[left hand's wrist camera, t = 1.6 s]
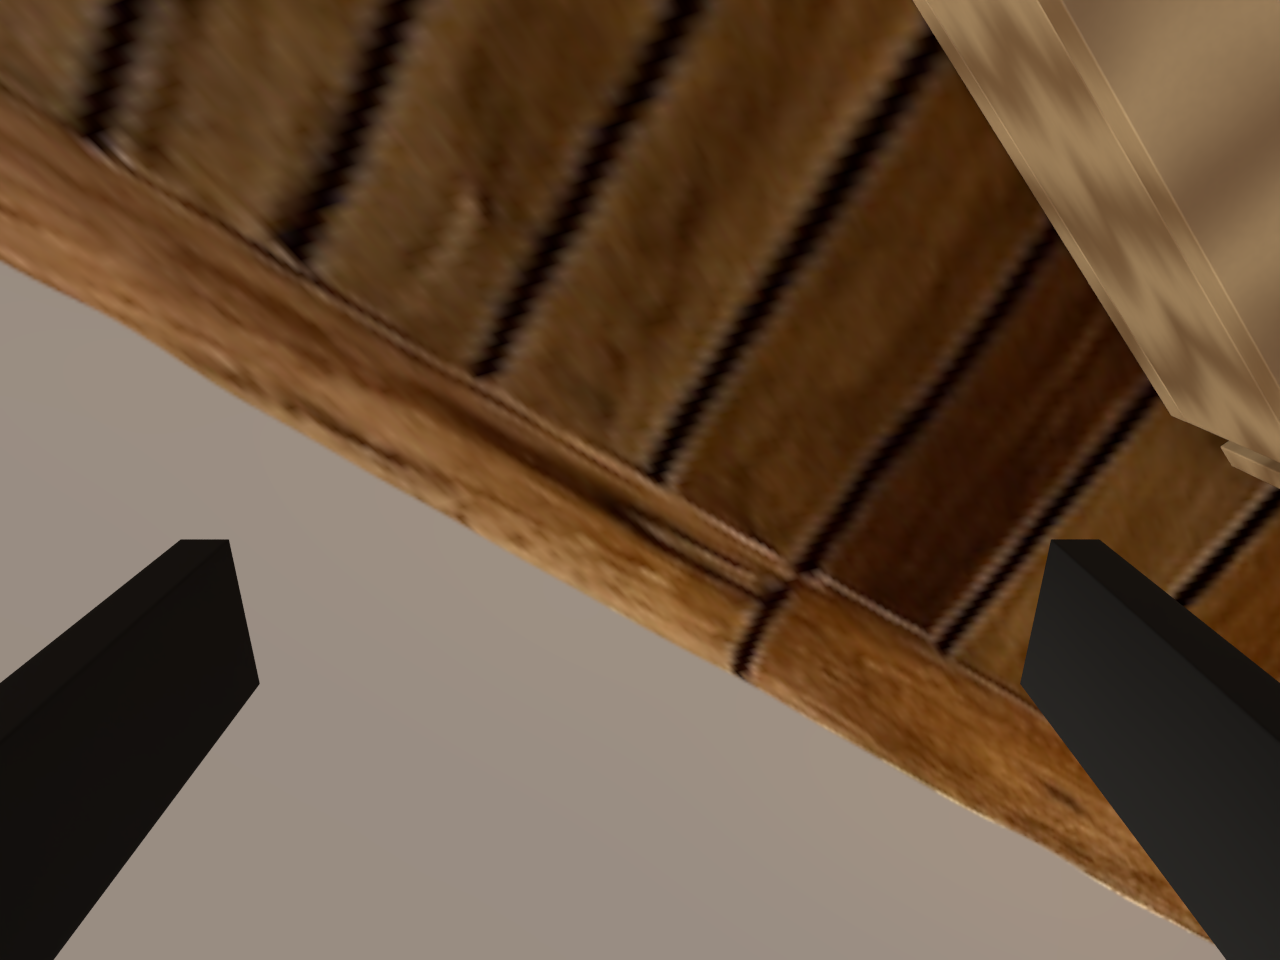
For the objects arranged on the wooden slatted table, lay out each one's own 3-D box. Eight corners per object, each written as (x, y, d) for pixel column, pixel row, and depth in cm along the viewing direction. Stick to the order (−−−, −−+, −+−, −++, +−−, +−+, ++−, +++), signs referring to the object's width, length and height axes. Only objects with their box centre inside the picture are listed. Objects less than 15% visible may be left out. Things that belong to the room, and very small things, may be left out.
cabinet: (1401, 260, 32) (1659, 287, 24) (1171, 416, 34) (1335, 488, 26) (1154, -258, 26) (1389, -457, 18) (895, -26, 28) (999, -109, 20)
